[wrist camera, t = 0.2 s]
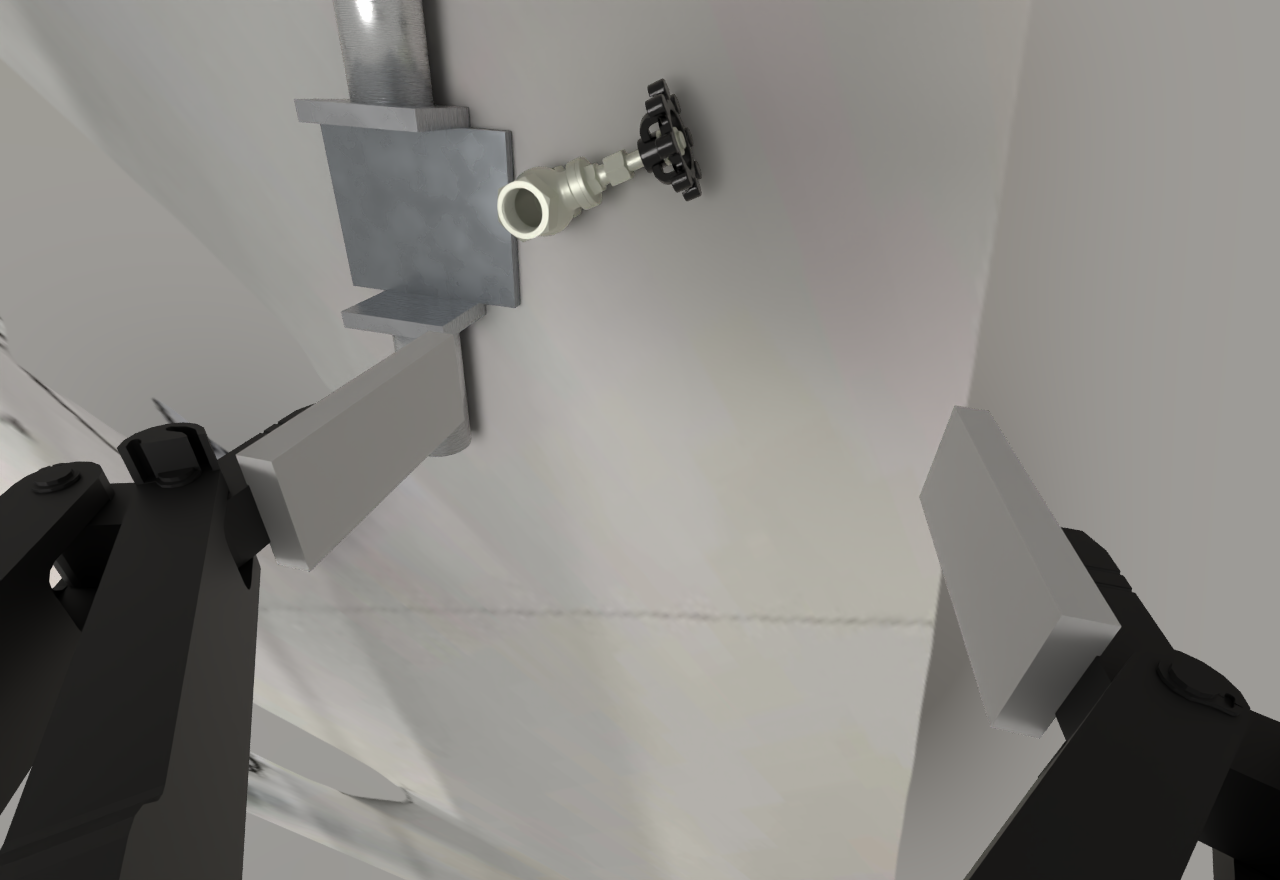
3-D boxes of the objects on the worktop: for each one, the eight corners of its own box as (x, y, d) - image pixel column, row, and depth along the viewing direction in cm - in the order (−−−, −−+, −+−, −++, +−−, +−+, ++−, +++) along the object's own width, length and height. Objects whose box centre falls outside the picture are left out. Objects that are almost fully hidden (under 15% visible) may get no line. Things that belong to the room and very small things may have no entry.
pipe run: (280, -126, 34) (183, -168, 29) (497, -124, 32) (437, -170, 27) (387, 415, 54) (341, 450, 48) (527, 440, 52) (495, 480, 46)
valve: (555, 250, 42) (708, 188, 38) (519, 273, 37) (693, 203, 32) (514, 158, 40) (673, 79, 35) (468, 168, 34) (651, 76, 30)
